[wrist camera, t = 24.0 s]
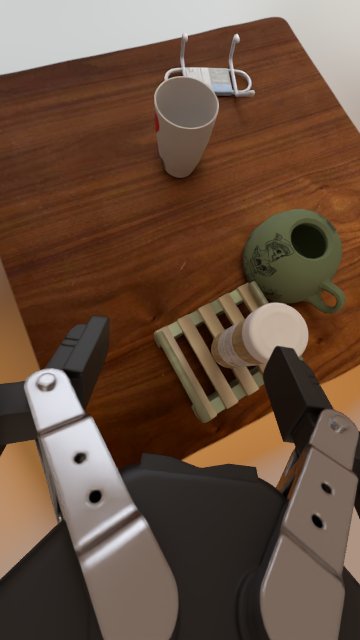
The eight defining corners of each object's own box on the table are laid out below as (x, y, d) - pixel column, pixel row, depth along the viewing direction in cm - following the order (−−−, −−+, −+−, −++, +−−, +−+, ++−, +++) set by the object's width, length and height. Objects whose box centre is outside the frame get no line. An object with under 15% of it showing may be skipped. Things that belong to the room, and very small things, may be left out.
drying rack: (196, 417, 35) (206, 427, 29) (152, 338, 36) (153, 330, 30) (281, 364, 38) (307, 362, 31) (237, 293, 39) (254, 277, 33)
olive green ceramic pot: (221, 250, 40) (240, 216, 32) (288, 217, 43) (321, 178, 34) (278, 341, 38) (314, 331, 30) (344, 301, 41) (395, 281, 32)
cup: (165, 135, 44) (170, 66, 34) (210, 155, 44) (227, 92, 34) (145, 173, 42) (143, 111, 32) (192, 194, 42) (205, 138, 32)
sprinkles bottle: (251, 340, 33) (318, 316, 20) (239, 374, 32) (301, 374, 19) (217, 325, 33) (262, 291, 20) (204, 359, 32) (241, 347, 18)
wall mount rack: (245, 65, 49) (257, 24, 43) (259, 126, 46) (274, 91, 40) (161, 64, 47) (162, 21, 41) (170, 128, 44) (173, 91, 38)
